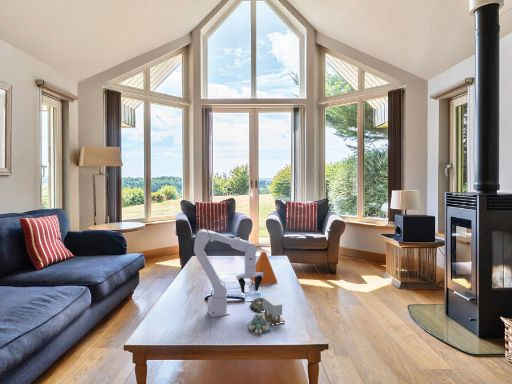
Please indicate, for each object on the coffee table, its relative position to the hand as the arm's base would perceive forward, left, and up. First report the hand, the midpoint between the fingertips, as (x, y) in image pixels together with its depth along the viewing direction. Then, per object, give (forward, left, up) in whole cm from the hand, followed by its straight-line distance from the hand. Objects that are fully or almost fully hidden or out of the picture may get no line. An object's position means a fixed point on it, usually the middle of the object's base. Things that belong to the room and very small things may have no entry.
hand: (249, 291), depth 171 cm
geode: (+10, +4, -11) cm, 15 cm away
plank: (+6, -13, -6) cm, 16 cm away
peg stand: (+6, -13, -10) cm, 18 cm away
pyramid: (+30, +44, -11) cm, 55 cm away
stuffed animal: (-4, -20, -11) cm, 24 cm away
